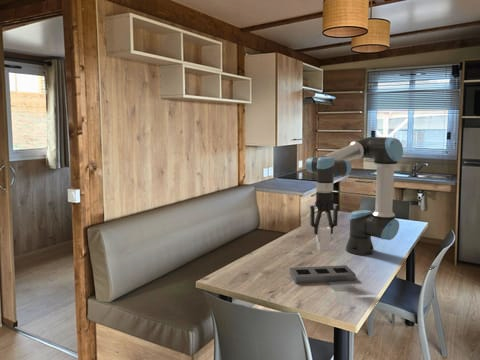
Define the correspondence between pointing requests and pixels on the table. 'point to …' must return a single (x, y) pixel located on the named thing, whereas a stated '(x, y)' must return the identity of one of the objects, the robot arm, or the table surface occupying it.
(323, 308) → the table surface
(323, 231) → the steel block
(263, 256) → the table surface
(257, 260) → the table surface
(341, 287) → the slate pad
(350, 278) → the grey slotted block
